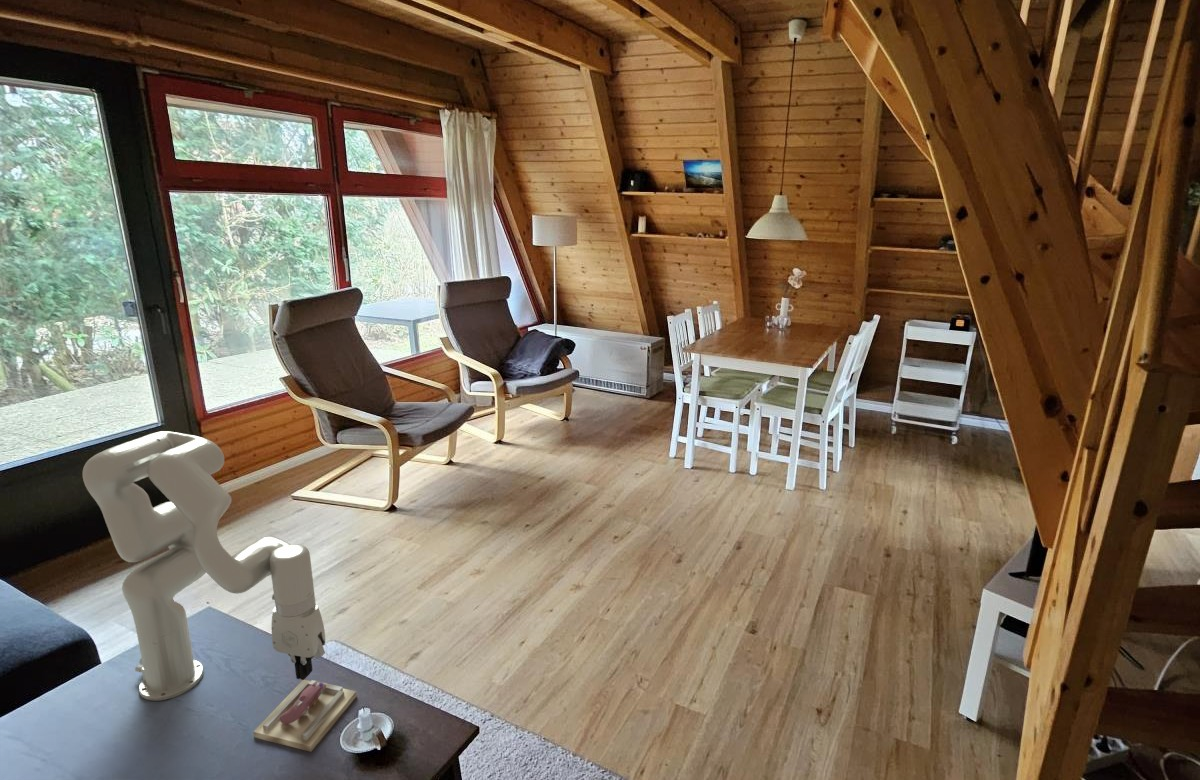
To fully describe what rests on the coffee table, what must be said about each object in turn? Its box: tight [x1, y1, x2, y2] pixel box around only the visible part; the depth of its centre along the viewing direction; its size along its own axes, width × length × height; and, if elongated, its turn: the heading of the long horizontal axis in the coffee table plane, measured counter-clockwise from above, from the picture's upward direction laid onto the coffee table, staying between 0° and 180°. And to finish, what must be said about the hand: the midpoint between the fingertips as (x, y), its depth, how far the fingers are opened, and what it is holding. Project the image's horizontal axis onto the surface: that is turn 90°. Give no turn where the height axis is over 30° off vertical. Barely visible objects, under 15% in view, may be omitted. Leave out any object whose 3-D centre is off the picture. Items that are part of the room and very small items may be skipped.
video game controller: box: [280, 680, 326, 724], centre depth 138 cm, size 10×5×7 cm, turn 167°
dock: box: [252, 679, 357, 753], centre depth 139 cm, size 14×16×3 cm
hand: (304, 674), depth 136 cm, fingers closed
